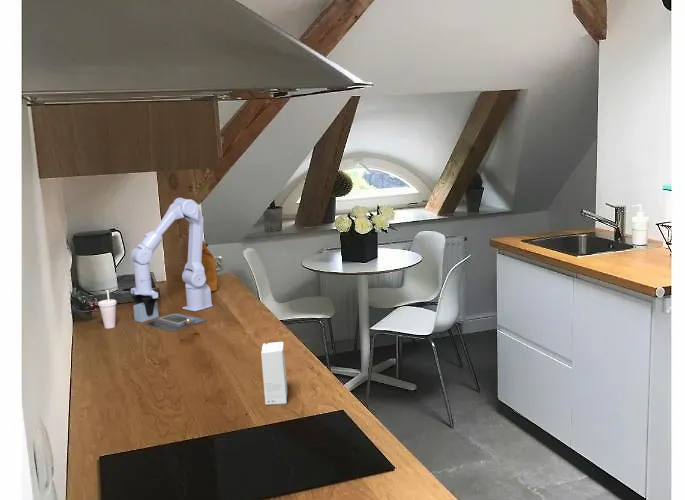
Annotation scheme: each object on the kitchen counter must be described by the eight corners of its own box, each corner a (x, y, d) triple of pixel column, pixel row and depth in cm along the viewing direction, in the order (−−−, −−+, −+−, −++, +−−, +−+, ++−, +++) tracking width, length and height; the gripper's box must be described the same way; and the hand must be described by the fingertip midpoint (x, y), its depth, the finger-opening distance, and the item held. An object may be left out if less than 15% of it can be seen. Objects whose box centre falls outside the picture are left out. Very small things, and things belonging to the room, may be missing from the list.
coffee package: (215, 285, 312) (211, 237, 308) (219, 292, 300) (216, 242, 296) (192, 288, 309) (189, 239, 305) (196, 294, 297) (192, 244, 293)
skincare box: (286, 404, 183) (283, 350, 180) (263, 405, 183) (260, 352, 180) (287, 392, 191) (284, 340, 188) (265, 393, 191) (262, 341, 188)
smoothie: (115, 329, 253) (111, 292, 250) (98, 329, 253) (94, 292, 250) (121, 324, 259) (117, 287, 256) (104, 324, 259) (100, 288, 257)
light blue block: (152, 315, 269) (150, 300, 268) (158, 316, 267) (157, 301, 265) (134, 320, 263) (133, 305, 262) (141, 322, 261) (139, 306, 259)
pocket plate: (179, 314, 270) (179, 307, 269) (206, 320, 260) (206, 313, 259) (145, 324, 257) (144, 317, 257) (172, 332, 247) (171, 324, 247)
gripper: (122, 279, 263) (126, 313, 266) (145, 283, 254) (149, 319, 257) (138, 275, 269) (141, 309, 271) (161, 279, 260) (164, 314, 262)
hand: (146, 313), depth 265 cm, fingers closed on light blue block, 4 cm apart
